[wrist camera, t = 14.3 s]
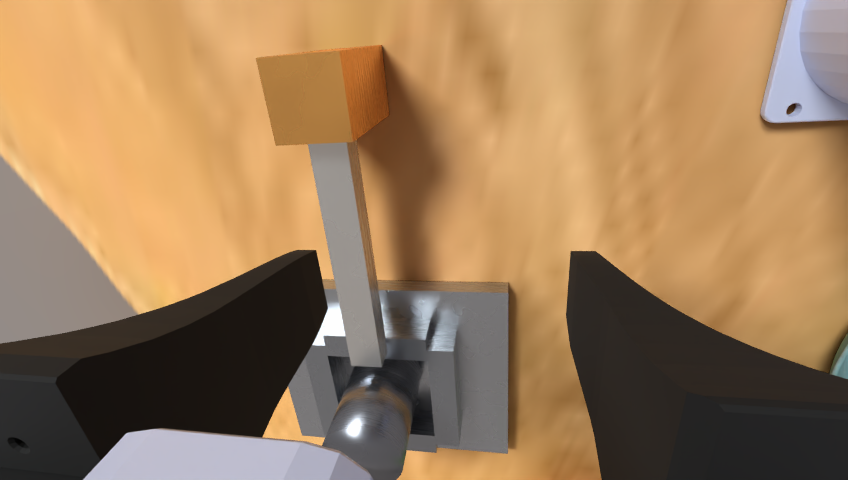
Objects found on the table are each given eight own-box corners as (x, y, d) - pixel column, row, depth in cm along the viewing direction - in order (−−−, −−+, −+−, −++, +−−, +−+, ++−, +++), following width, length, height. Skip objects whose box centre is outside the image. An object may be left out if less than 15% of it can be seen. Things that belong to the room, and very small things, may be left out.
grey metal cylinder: (410, 339, 25) (387, 426, 19) (429, 391, 26) (413, 484, 21) (346, 348, 26) (308, 433, 20) (368, 398, 27) (339, 488, 22)
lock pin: (381, 44, 19) (339, 50, 14) (412, 316, 25) (389, 385, 20) (317, 50, 20) (255, 57, 15) (362, 315, 26) (329, 382, 21)
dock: (508, 282, 23) (508, 313, 21) (507, 440, 28) (507, 479, 26) (268, 278, 26) (243, 305, 23) (308, 423, 31) (290, 458, 28)
